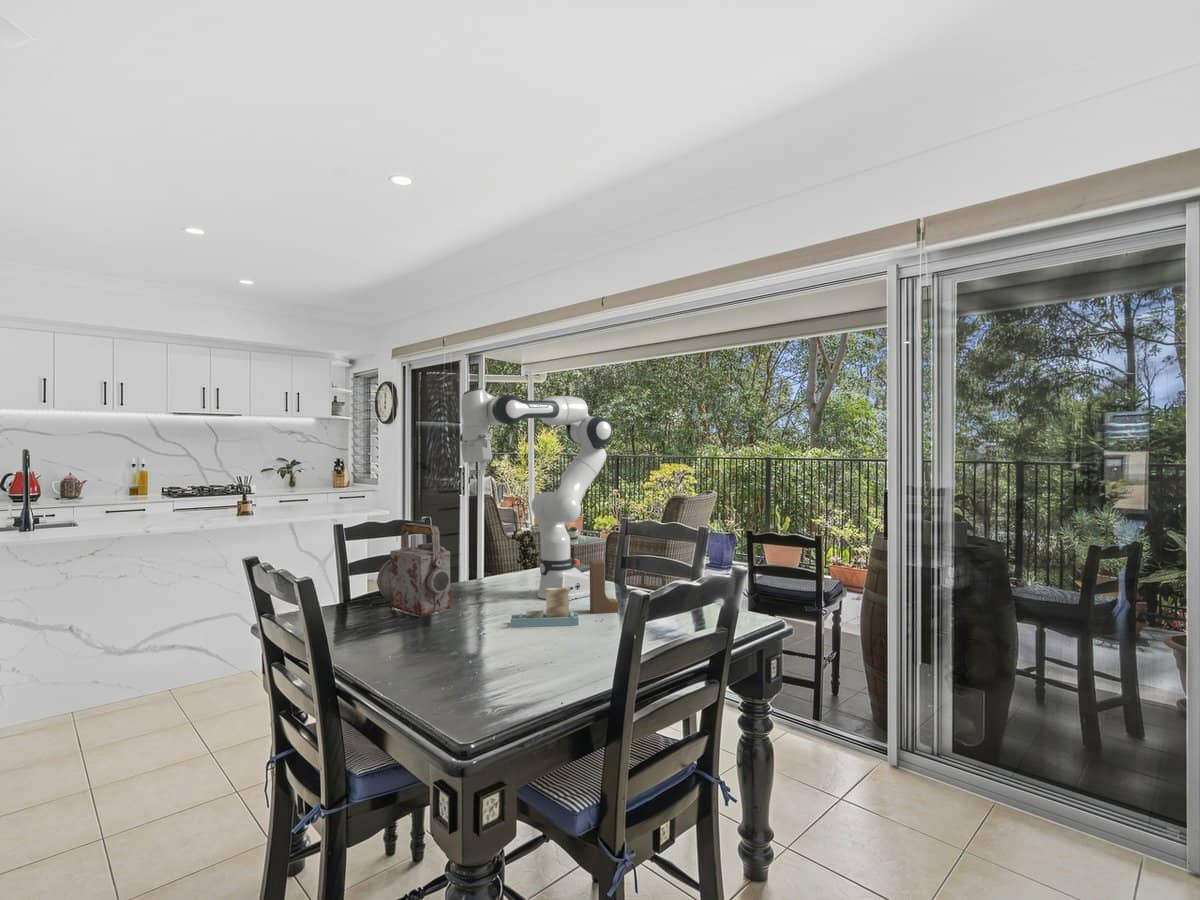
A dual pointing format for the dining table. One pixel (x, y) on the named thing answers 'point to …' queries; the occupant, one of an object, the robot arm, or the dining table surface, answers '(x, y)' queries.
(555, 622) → the rack
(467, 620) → the dining table surface
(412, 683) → the dining table surface
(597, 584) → the wooden block
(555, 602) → the beige rectangular slab
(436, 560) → the lantern
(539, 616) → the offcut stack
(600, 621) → the dining table surface
